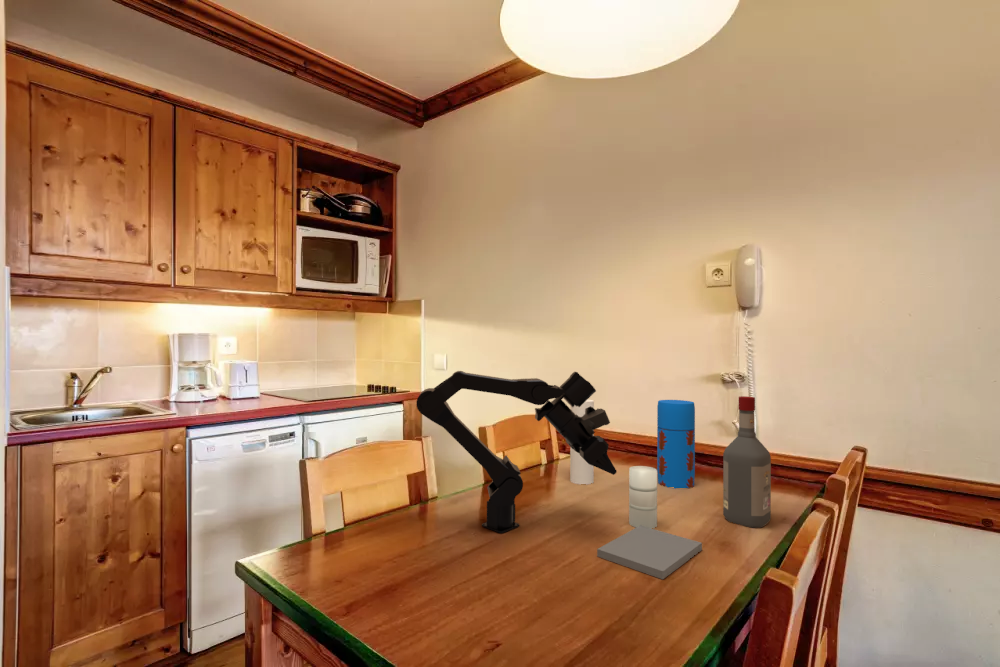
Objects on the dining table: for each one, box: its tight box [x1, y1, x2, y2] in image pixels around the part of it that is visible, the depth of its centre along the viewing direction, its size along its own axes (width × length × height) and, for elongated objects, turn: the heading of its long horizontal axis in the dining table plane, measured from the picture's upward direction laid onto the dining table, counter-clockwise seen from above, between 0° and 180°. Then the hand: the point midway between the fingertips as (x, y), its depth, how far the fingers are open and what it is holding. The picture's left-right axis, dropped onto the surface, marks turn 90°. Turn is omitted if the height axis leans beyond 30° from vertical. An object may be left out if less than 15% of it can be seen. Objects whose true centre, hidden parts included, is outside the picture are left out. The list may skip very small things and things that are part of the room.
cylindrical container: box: [569, 398, 595, 485], centre depth 155 cm, size 7×7×25 cm
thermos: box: [656, 399, 696, 489], centre depth 153 cm, size 11×11×25 cm
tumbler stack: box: [628, 465, 658, 529], centre depth 119 cm, size 6×6×13 cm
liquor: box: [722, 395, 772, 528], centre depth 122 cm, size 9×9×30 cm
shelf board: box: [596, 525, 703, 580], centre depth 103 cm, size 18×14×2 cm
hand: (609, 468), depth 119 cm, fingers open, 9 cm apart
